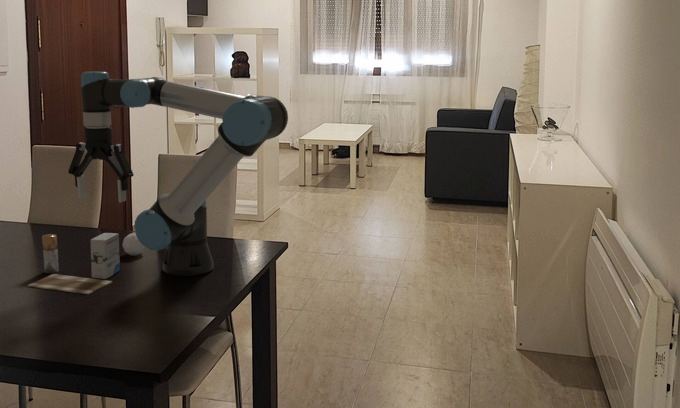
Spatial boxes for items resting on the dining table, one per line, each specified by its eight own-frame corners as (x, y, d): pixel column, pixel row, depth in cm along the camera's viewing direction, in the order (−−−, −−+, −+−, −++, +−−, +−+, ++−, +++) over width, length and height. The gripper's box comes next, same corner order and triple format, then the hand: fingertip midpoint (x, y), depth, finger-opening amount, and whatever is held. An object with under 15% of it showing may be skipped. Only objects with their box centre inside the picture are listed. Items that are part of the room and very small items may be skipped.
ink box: (106, 269, 223) (104, 232, 221) (121, 270, 222) (119, 233, 220) (91, 278, 215) (88, 239, 212) (107, 279, 214) (104, 240, 212)
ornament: (118, 256, 237) (118, 233, 240) (138, 260, 242) (138, 238, 245) (129, 249, 232) (129, 226, 236) (150, 253, 238) (150, 230, 241)
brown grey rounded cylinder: (61, 270, 222) (59, 234, 220) (53, 273, 218) (50, 238, 216) (50, 268, 223) (48, 233, 221) (41, 272, 219) (39, 236, 217)
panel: (112, 282, 211) (112, 281, 211) (88, 294, 201) (88, 293, 201) (53, 275, 217) (53, 273, 217) (27, 286, 207) (27, 285, 207)
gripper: (143, 127, 209) (146, 200, 214) (69, 123, 217) (74, 194, 221) (128, 129, 202) (132, 205, 207) (52, 126, 210) (57, 199, 214)
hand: (102, 200), depth 214 cm, fingers open, 13 cm apart
